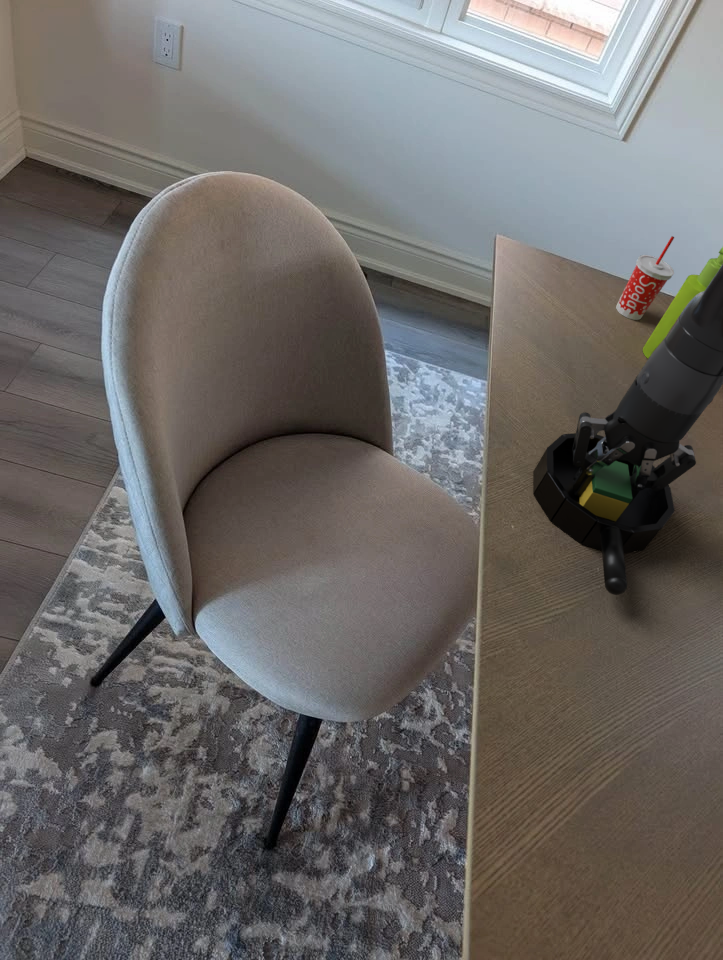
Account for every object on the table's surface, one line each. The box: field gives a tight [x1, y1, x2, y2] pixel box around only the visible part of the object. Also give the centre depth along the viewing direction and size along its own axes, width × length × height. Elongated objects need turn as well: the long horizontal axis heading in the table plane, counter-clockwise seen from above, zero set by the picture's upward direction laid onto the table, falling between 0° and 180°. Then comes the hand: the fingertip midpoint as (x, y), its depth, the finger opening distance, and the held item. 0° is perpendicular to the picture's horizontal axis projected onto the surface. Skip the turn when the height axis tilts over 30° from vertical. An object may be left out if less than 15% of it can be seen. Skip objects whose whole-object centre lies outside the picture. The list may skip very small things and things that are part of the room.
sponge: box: [579, 461, 632, 521], centre depth 89 cm, size 6×4×4 cm
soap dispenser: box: [642, 246, 723, 360], centre depth 112 cm, size 6×7×20 cm
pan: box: [532, 432, 675, 596], centre depth 86 cm, size 24×16×4 cm, turn 170°
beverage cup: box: [615, 235, 675, 321], centre depth 122 cm, size 6×6×14 cm
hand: (597, 496), depth 90 cm, fingers closed on sponge, 4 cm apart
